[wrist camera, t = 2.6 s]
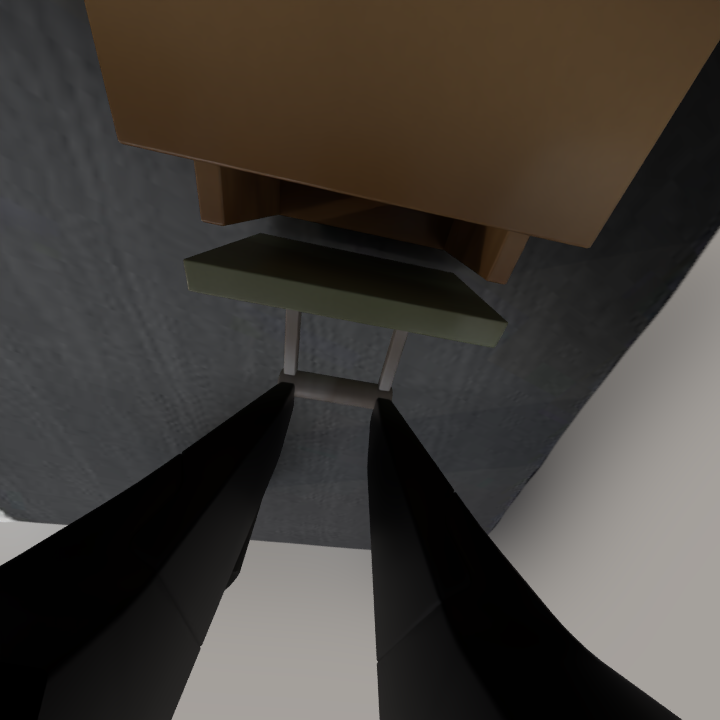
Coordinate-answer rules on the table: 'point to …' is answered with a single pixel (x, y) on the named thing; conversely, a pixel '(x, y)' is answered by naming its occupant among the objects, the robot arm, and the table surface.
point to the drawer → (347, 272)
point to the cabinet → (413, 96)
